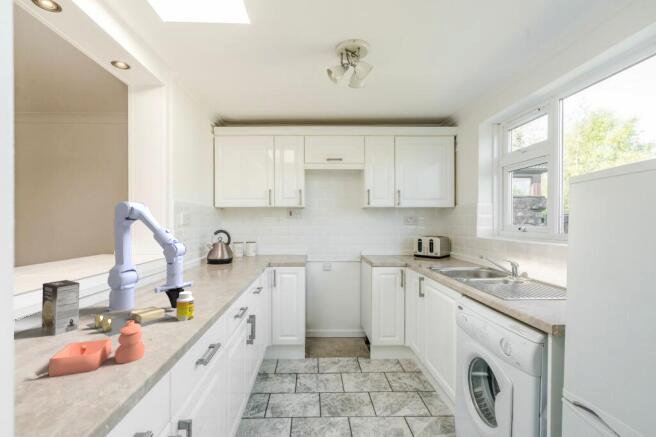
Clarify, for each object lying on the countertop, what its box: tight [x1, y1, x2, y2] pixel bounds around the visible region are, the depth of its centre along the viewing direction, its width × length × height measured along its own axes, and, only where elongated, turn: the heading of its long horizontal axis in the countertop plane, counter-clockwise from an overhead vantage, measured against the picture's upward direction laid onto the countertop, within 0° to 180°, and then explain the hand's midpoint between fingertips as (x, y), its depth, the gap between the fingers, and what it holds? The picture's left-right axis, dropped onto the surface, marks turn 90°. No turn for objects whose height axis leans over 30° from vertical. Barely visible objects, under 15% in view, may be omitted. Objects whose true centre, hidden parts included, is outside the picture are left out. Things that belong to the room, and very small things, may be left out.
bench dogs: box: [93, 314, 113, 334], centre depth 94 cm, size 8×2×4 cm, turn 58°
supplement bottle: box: [175, 290, 195, 322], centre depth 105 cm, size 6×6×10 cm
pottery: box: [48, 320, 146, 378], centre depth 74 cm, size 18×10×10 cm, turn 110°
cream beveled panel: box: [129, 306, 166, 323], centre depth 105 cm, size 8×8×2 cm
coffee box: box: [41, 279, 80, 336], centre depth 93 cm, size 9×6×16 cm
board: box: [86, 313, 176, 337], centre depth 102 cm, size 18×21×1 cm
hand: (174, 307), depth 114 cm, fingers closed
